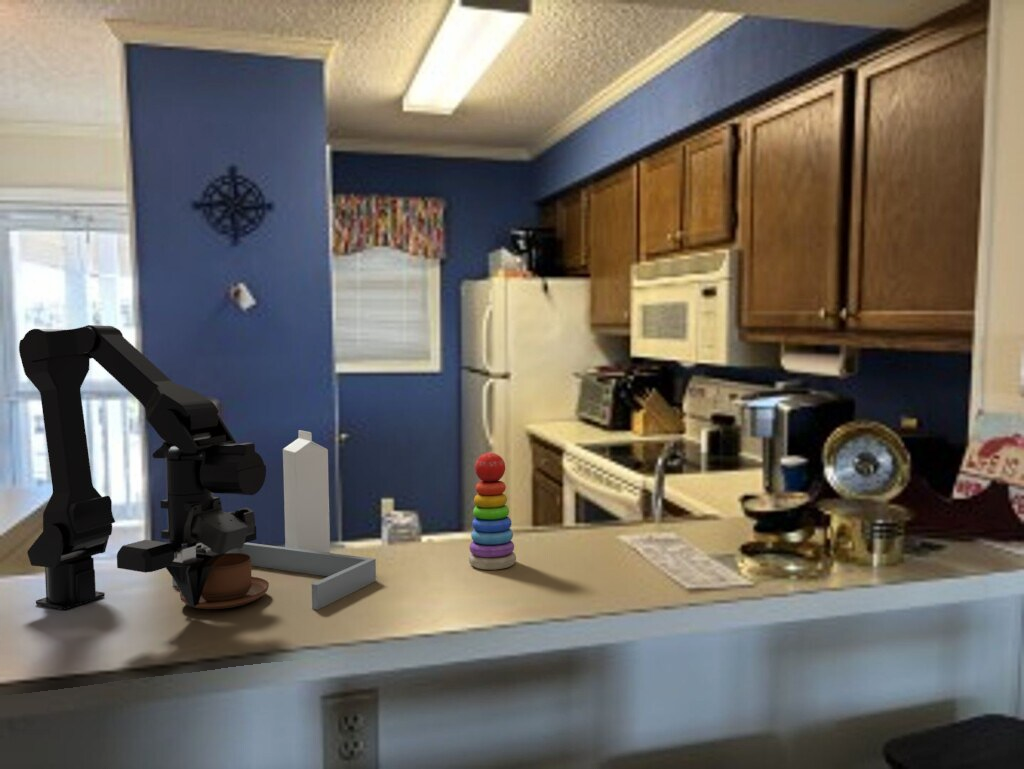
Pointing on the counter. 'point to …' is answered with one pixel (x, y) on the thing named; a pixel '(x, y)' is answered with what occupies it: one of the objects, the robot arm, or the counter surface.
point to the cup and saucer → (230, 583)
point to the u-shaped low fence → (315, 569)
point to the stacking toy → (491, 517)
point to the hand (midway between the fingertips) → (193, 605)
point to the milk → (306, 495)
